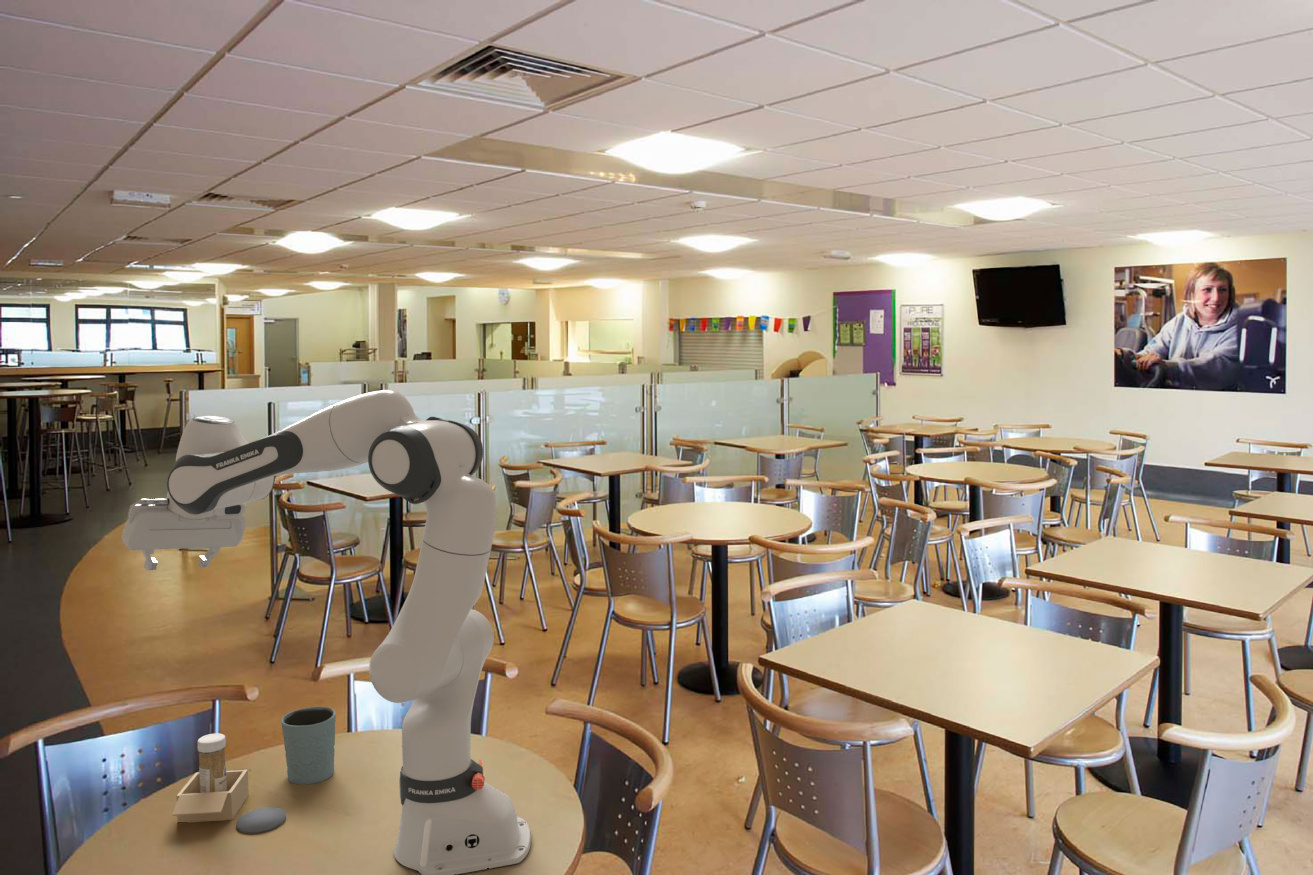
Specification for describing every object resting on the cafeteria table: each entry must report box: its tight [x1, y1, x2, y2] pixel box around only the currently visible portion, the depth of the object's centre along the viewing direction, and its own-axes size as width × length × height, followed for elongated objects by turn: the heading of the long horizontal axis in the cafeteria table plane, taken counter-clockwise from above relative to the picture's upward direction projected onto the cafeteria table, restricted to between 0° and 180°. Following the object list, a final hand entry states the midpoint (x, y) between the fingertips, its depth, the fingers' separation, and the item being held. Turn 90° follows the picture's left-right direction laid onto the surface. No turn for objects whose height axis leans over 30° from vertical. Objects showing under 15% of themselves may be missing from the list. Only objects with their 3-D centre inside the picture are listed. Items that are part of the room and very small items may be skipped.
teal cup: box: [280, 706, 337, 786], centre depth 176 cm, size 10×10×12 cm
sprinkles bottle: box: [197, 732, 227, 793], centre depth 162 cm, size 5×5×14 cm
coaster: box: [236, 806, 287, 834], centre depth 158 cm, size 8×8×1 cm
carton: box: [171, 768, 252, 823], centre depth 162 cm, size 9×17×5 cm, turn 8°
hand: (177, 567), depth 164 cm, fingers open, 8 cm apart
